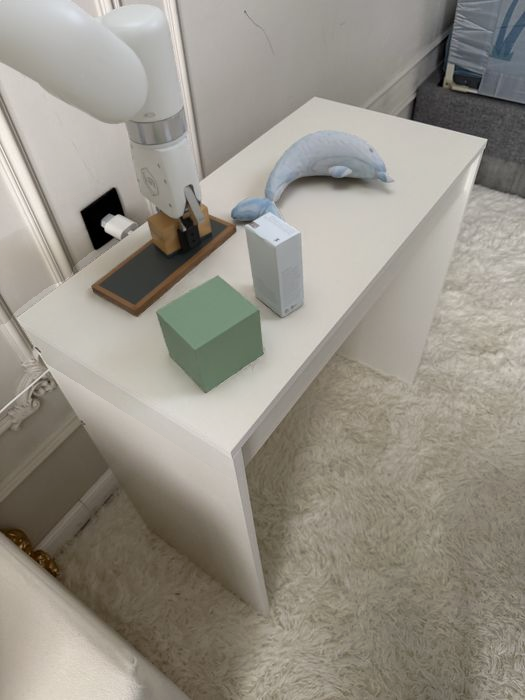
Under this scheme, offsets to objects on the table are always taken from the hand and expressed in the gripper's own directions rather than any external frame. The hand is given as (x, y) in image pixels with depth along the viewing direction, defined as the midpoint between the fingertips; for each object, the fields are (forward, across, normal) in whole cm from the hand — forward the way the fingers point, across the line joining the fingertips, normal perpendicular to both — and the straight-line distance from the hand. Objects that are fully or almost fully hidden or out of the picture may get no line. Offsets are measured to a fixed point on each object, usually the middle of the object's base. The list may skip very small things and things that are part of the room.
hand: (182, 239), depth 79 cm
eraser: (0, 0, 0) cm, 0 cm away
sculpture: (+2, +6, +22) cm, 23 cm away
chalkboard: (+1, +1, -4) cm, 4 cm away
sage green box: (+1, +21, -9) cm, 23 cm away
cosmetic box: (+2, +19, +3) cm, 19 cm away
